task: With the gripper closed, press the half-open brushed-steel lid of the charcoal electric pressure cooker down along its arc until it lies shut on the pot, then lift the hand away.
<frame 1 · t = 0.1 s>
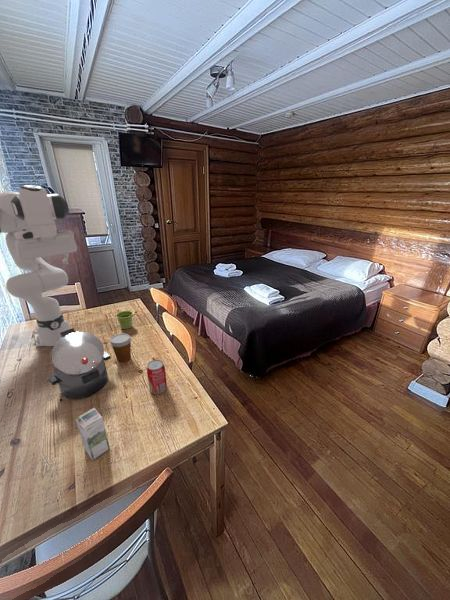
hand: (52, 266, 104), 48 cm above the table, fingers open, 8 cm apart
soda can: (158, 389, 108), on the table
plant pot: (126, 327, 155), on the table
cooker lid: (77, 350, 101), point 18 cm above the table, hinge at 35.0°
disposable coffee cup: (124, 359, 126), on the table
cooker pot: (85, 383, 110), on the table
syrup box: (97, 450, 83), on the table
brown half-round piece: (82, 360, 125), on the table
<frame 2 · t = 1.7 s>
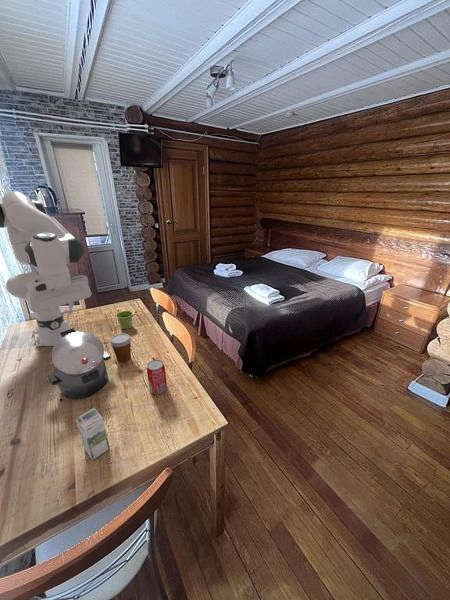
hand: (66, 314, 97), 33 cm above the table, fingers closed
nothing on the table moved.
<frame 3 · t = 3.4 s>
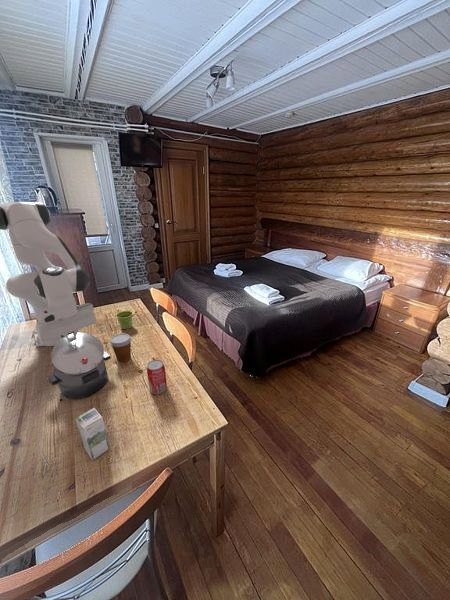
hand: (72, 340, 103), 21 cm above the table, fingers closed, pressing on cooker lid
cooker lid: (77, 350, 102), point 18 cm above the table, hinge at 32.3°, touching gripper
everything else where it was.
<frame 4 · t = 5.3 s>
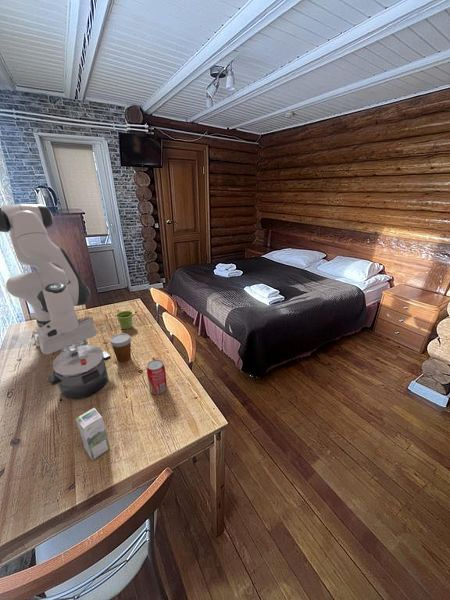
hand: (73, 352, 107), 14 cm above the table, fingers closed, pressing on cooker lid
cooker lid: (77, 357, 105), point 13 cm above the table, hinge at 2.3°, touching gripper
everything else where it was.
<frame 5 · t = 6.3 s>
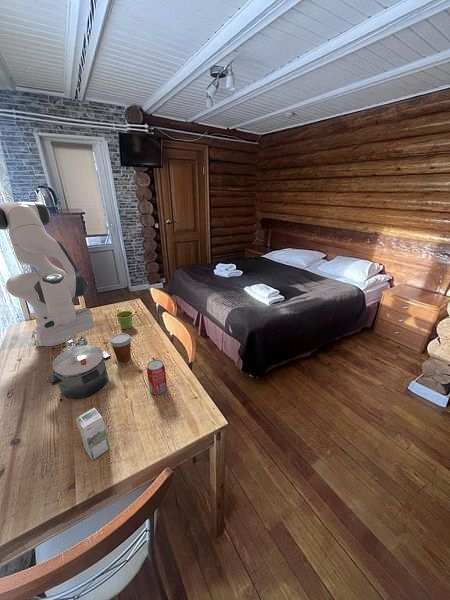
hand: (71, 344, 106), 18 cm above the table, fingers closed
cooker lid: (77, 357, 105), point 13 cm above the table, hinge at 2.1°
everything else where it was.
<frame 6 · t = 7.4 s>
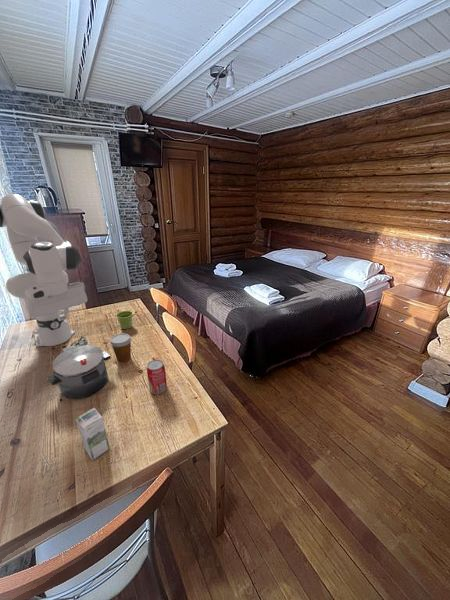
hand: (63, 319, 101), 29 cm above the table, fingers closed
nothing on the table moved.
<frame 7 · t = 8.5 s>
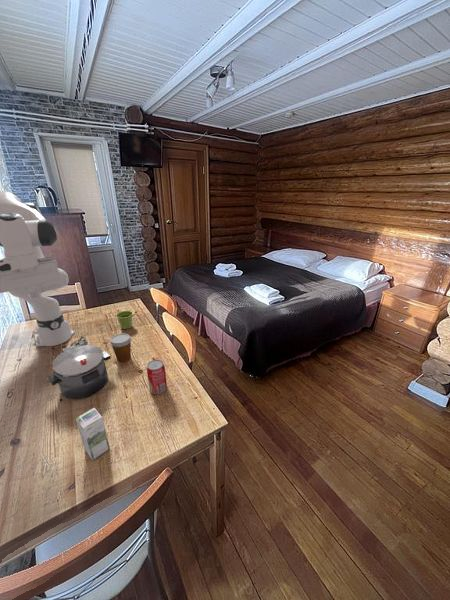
hand: (34, 296, 97), 39 cm above the table, fingers closed
nothing on the table moved.
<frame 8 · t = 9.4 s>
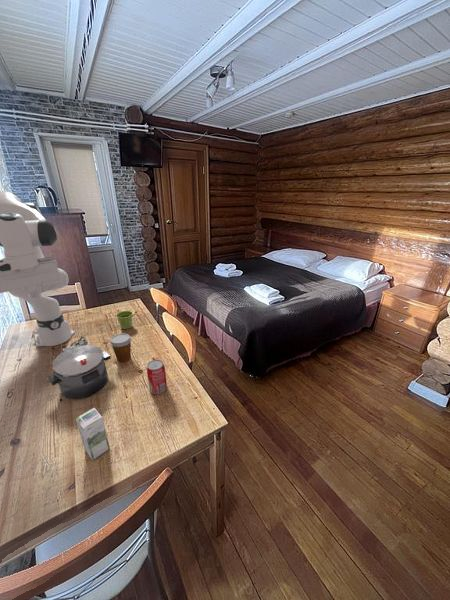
hand: (34, 296, 97), 39 cm above the table, fingers closed
nothing on the table moved.
at the end: cooker lid at +2° (first picture: +35°) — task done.
